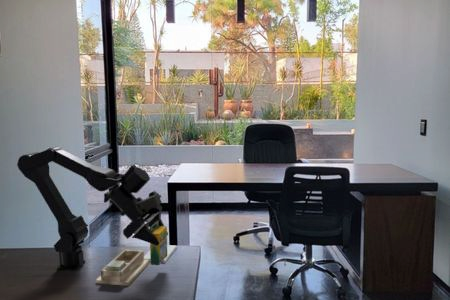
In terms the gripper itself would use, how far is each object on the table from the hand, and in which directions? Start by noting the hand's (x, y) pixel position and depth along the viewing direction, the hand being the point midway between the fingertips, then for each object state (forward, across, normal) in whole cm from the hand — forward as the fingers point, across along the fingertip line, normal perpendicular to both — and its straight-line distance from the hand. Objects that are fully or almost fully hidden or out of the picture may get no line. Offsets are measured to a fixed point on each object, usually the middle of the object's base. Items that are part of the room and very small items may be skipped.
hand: (163, 239), depth 124 cm
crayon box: (+4, 0, +6) cm, 7 cm away
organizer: (-1, -2, +16) cm, 16 cm away
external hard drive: (+4, +13, +12) cm, 18 cm away
